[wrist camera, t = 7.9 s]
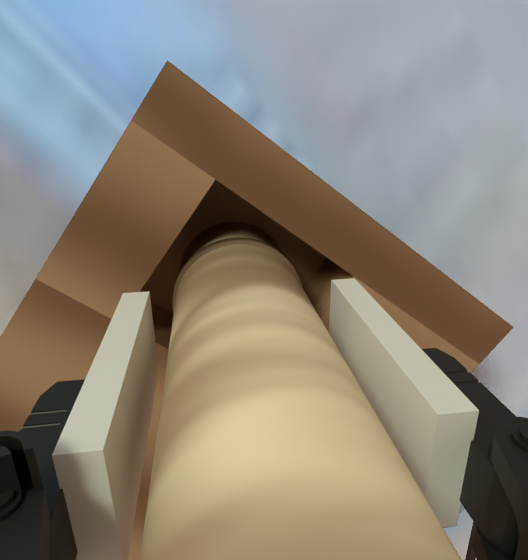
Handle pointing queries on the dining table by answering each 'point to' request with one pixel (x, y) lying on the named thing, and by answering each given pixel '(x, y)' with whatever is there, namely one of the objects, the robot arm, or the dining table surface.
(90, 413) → the robot arm
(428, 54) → the dining table surface
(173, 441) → the beech peg
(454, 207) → the dining table surface
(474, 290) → the dining table surface
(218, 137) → the board
